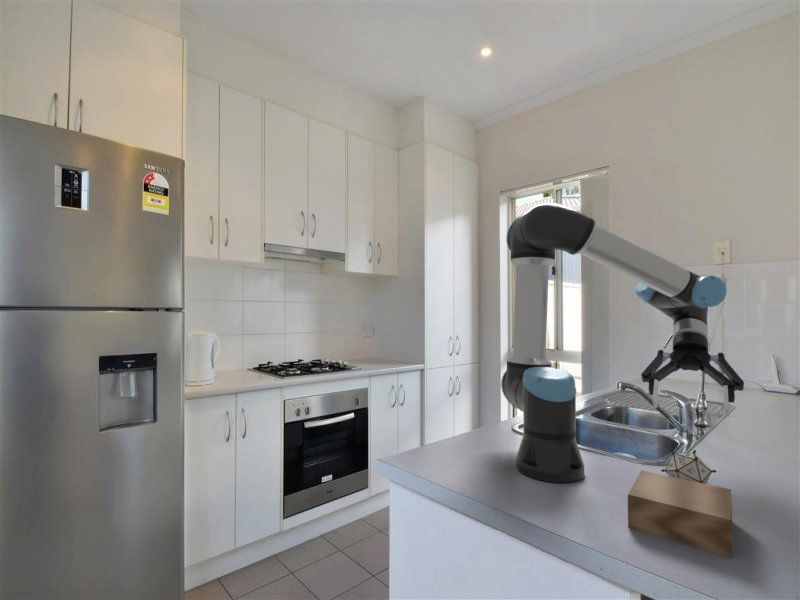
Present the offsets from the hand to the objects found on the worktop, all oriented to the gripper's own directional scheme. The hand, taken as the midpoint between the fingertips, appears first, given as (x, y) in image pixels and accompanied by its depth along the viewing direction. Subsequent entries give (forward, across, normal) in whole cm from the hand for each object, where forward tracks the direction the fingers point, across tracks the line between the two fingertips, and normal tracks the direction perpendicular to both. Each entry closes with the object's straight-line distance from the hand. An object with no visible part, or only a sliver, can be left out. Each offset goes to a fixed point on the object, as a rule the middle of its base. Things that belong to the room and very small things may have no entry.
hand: (689, 408), depth 95 cm
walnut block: (+31, +1, +10) cm, 33 cm away
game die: (+18, 0, -3) cm, 19 cm away
